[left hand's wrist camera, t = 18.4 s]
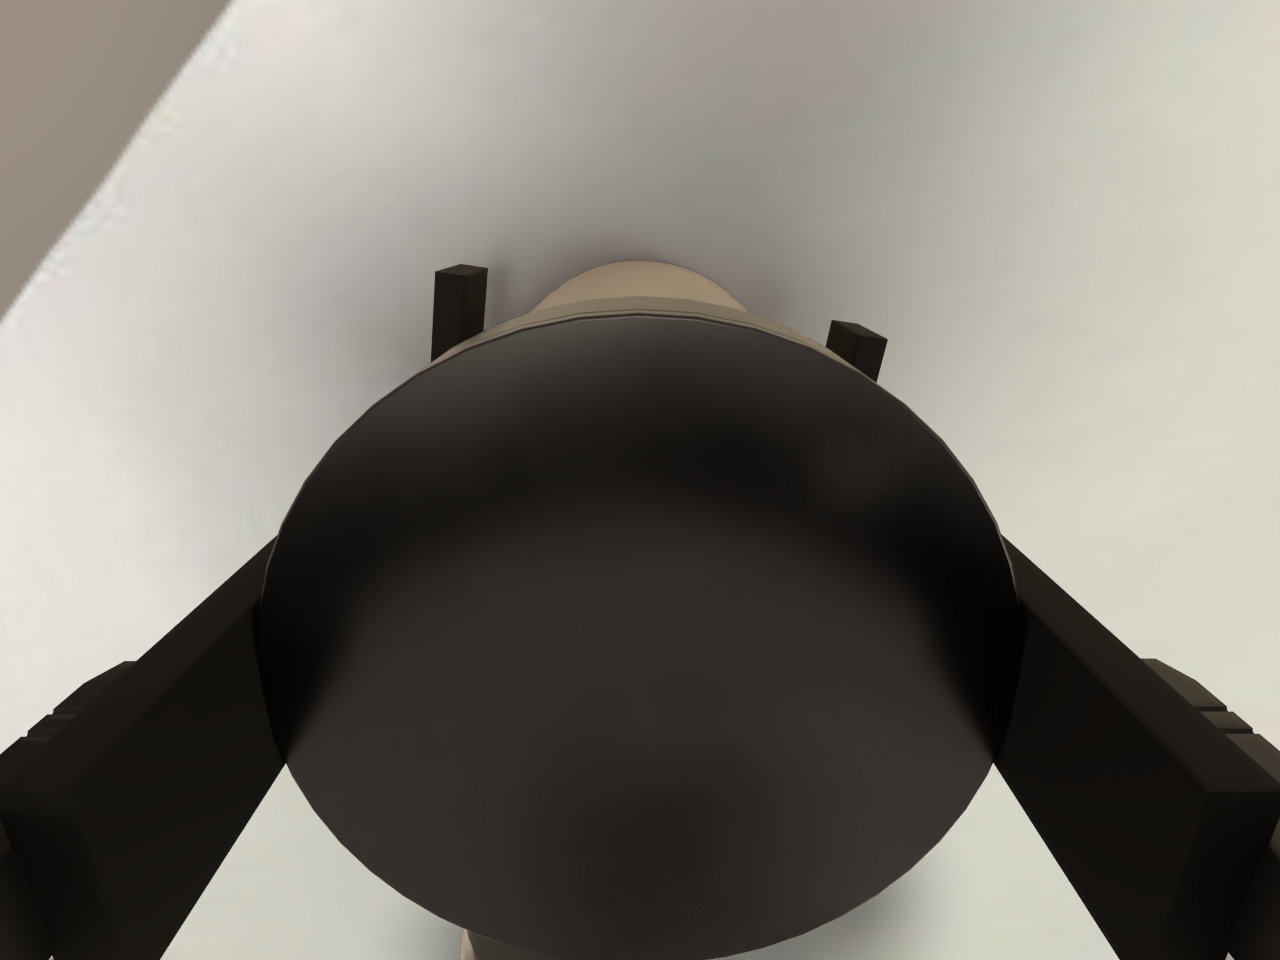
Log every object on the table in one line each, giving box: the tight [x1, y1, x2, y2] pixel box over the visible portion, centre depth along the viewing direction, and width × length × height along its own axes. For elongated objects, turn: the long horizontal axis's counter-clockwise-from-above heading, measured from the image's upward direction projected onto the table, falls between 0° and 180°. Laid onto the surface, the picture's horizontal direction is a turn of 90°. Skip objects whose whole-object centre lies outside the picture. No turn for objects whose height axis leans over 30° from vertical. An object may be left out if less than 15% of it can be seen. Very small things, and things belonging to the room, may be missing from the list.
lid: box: [257, 296, 1022, 960], centre depth 11 cm, size 11×11×2 cm
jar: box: [530, 261, 749, 313], centre depth 19 cm, size 10×10×17 cm
